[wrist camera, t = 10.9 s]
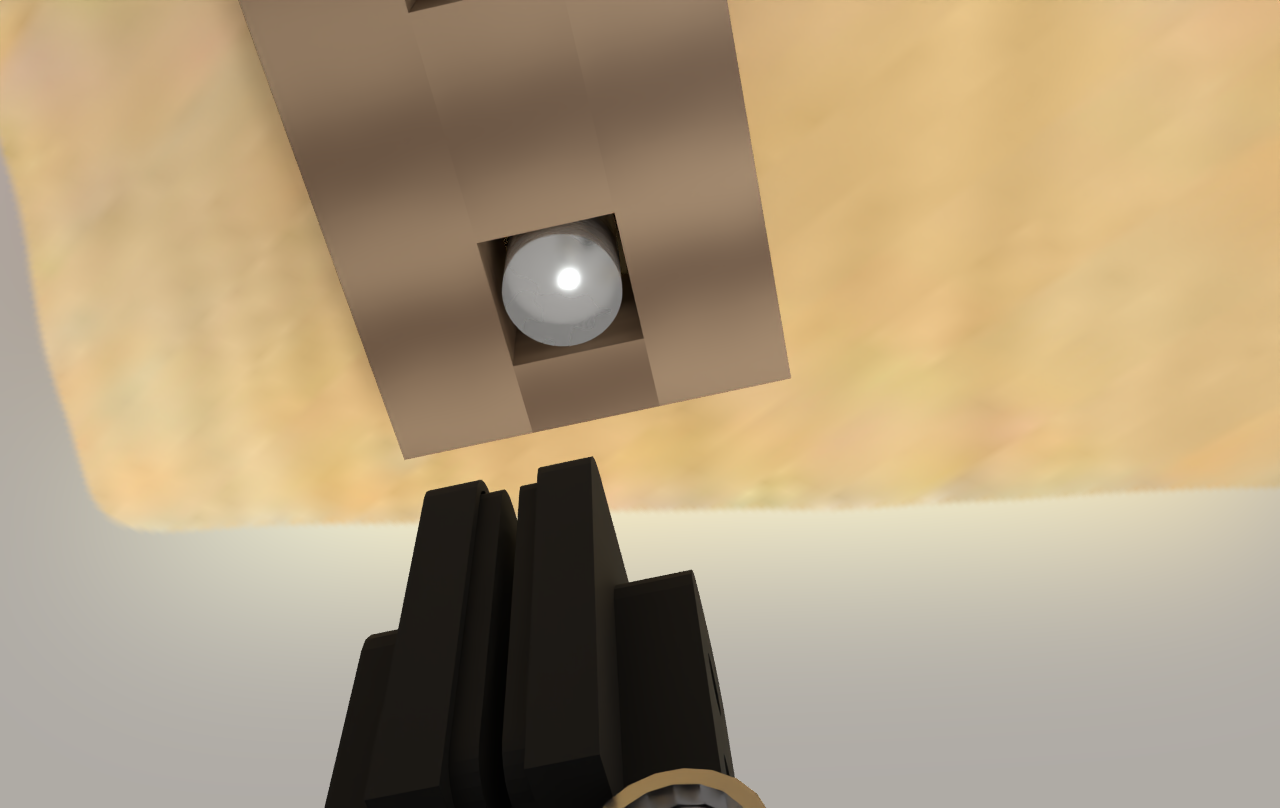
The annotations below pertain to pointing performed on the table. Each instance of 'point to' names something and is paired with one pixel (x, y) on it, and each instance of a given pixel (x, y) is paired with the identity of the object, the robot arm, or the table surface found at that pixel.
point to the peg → (564, 281)
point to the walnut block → (528, 198)
